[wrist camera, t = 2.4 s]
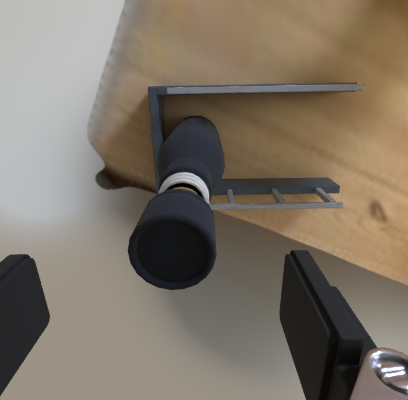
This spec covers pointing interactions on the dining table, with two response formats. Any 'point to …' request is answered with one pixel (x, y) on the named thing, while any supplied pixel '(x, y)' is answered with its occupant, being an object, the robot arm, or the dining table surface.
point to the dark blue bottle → (180, 209)
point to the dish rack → (252, 185)
